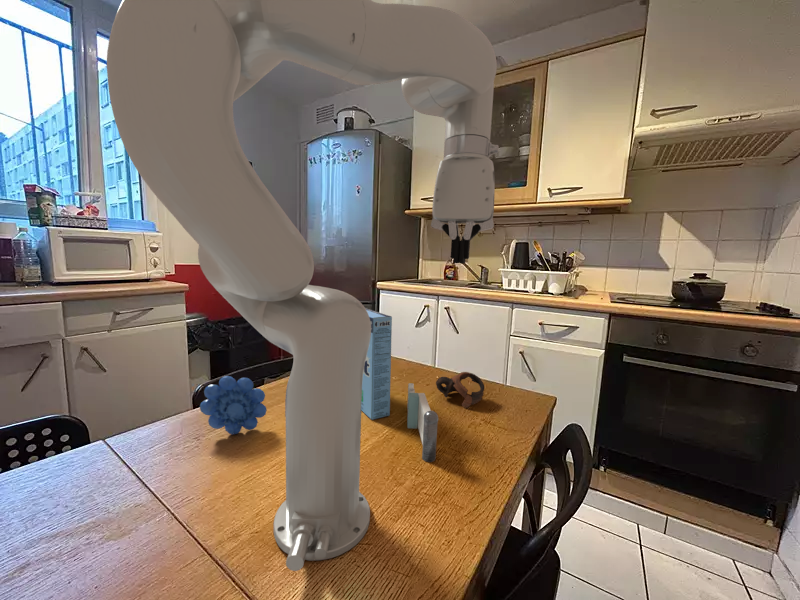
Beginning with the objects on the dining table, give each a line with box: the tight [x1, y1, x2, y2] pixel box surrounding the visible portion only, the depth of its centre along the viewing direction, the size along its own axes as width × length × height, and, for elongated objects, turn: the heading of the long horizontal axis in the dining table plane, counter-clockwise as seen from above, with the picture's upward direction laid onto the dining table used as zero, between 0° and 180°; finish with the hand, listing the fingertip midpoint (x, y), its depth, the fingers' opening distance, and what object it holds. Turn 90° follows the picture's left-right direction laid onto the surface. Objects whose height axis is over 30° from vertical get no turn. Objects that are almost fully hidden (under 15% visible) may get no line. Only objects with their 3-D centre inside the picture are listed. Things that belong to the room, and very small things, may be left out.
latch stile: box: [406, 392, 419, 429], centre depth 72 cm, size 2×2×7 cm
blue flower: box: [199, 375, 268, 435], centre depth 66 cm, size 12×7×12 cm, turn 119°
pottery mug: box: [435, 371, 485, 409], centre depth 86 cm, size 12×10×8 cm
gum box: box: [361, 307, 393, 421], centre depth 82 cm, size 20×5×23 cm, turn 31°
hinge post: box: [421, 410, 439, 463], centre depth 61 cm, size 3×3×9 cm
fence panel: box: [406, 382, 416, 410], centre depth 77 cm, size 8×1×6 cm, turn 2°
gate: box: [417, 392, 432, 446], centre depth 68 cm, size 11×1×7 cm, turn 4°
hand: (459, 262), depth 60 cm, fingers closed
